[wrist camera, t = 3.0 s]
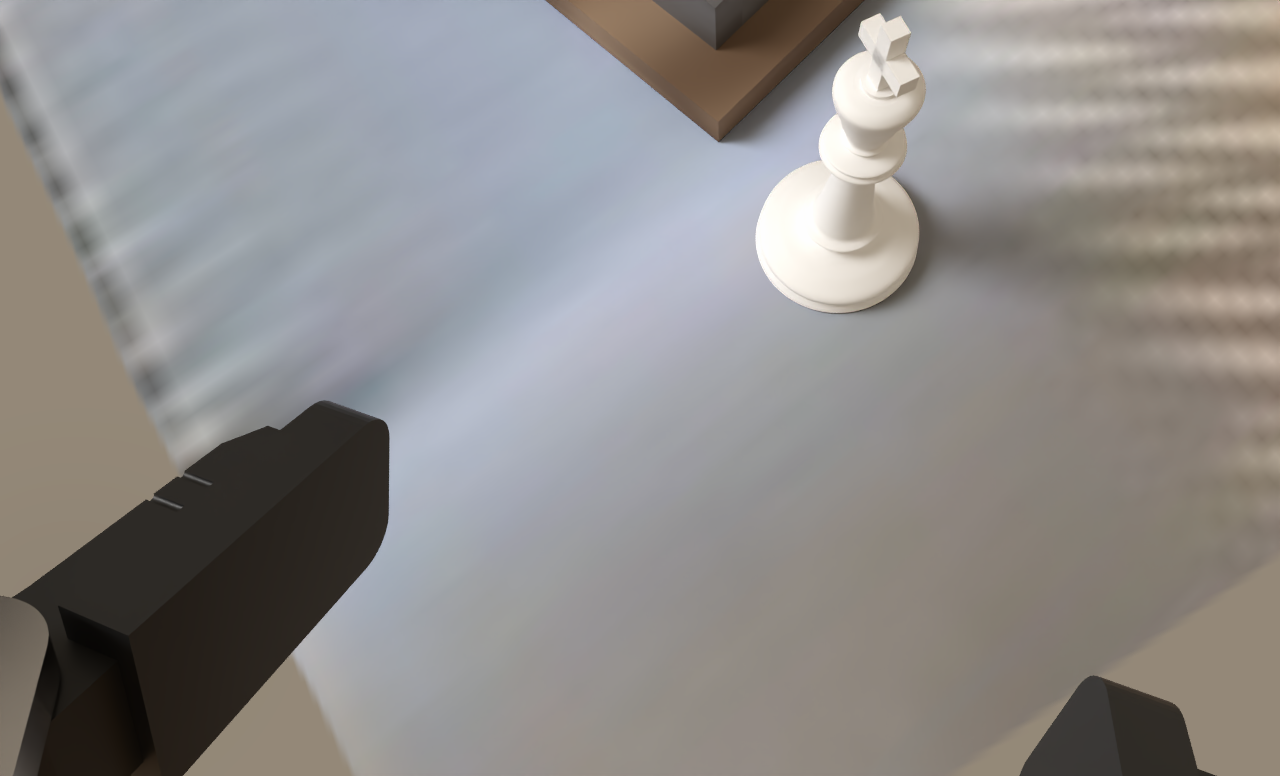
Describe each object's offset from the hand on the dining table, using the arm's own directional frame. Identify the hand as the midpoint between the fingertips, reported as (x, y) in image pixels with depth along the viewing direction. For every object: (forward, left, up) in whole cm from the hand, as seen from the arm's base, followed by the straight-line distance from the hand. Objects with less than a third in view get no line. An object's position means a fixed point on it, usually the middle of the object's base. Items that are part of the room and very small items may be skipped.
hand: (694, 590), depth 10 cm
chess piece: (-5, +10, -15) cm, 19 cm away
